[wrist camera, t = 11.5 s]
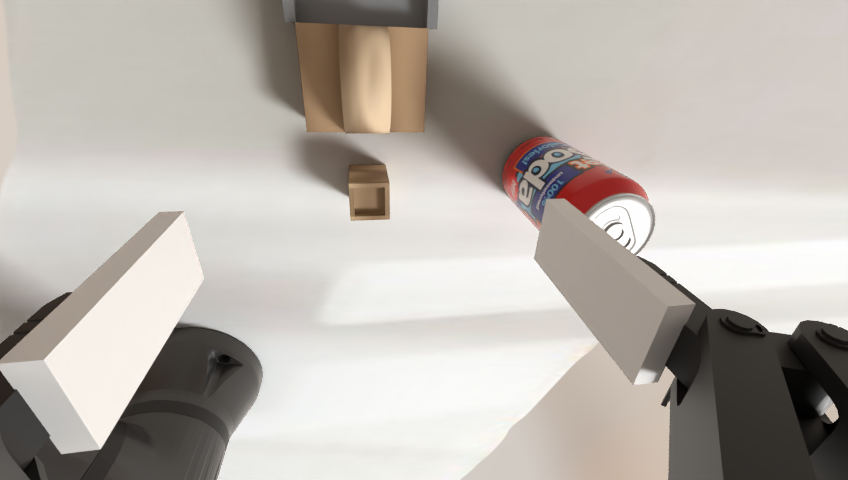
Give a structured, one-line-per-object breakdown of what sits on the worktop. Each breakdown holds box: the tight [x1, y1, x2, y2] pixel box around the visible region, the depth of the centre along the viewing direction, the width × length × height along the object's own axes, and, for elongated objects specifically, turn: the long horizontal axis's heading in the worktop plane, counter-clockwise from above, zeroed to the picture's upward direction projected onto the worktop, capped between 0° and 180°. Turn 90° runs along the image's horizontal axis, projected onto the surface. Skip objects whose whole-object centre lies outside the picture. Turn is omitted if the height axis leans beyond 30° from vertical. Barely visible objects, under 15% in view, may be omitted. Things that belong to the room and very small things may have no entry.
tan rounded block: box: [295, 22, 428, 133], centre depth 30 cm, size 10×8×8 cm
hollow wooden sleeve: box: [348, 165, 390, 221], centre depth 36 cm, size 4×4×5 cm
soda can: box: [502, 137, 655, 256], centre depth 35 cm, size 8×8×15 cm
